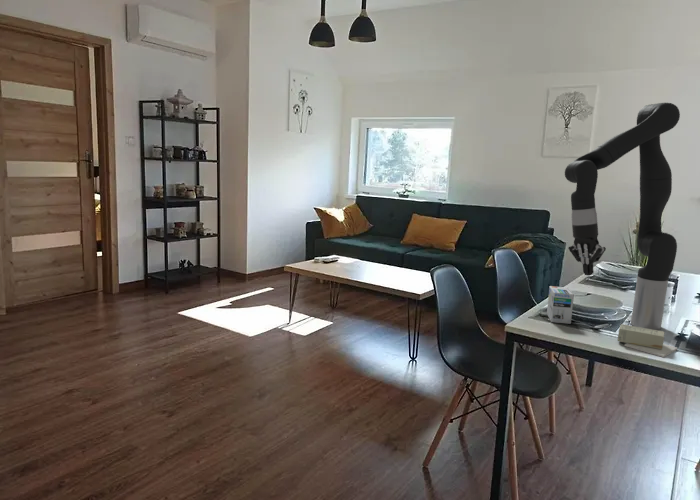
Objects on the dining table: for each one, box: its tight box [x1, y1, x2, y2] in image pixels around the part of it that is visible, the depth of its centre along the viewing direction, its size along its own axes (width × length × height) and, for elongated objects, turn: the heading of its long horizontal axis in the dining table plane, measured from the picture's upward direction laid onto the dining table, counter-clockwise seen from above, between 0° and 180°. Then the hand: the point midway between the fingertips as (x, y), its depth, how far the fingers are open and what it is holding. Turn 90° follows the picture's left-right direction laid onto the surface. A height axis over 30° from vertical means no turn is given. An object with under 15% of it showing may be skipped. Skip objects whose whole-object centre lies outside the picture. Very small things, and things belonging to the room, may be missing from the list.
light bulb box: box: [546, 285, 575, 325], centre depth 185 cm, size 11×7×11 cm, turn 169°
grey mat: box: [624, 343, 678, 358], centre depth 160 cm, size 11×11×1 cm
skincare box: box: [617, 323, 666, 350], centre depth 162 cm, size 6×4×12 cm
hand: (588, 274), depth 171 cm, fingers closed
